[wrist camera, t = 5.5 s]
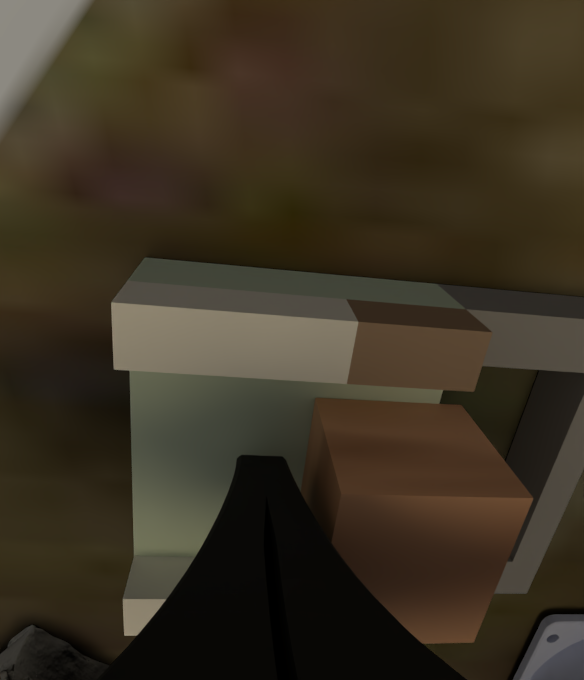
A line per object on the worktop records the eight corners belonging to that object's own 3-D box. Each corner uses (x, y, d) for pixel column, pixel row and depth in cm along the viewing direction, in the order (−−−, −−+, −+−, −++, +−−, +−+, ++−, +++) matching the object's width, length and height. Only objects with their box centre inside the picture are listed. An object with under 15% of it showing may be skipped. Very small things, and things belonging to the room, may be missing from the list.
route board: (498, 546, 18) (549, 633, 15) (147, 539, 17) (123, 635, 13) (597, 298, 14) (696, 348, 11) (144, 257, 12) (110, 302, 9)
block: (423, 529, 15) (473, 642, 12) (294, 528, 14) (310, 646, 11) (461, 404, 13) (533, 498, 10) (315, 397, 12) (341, 494, 9)
